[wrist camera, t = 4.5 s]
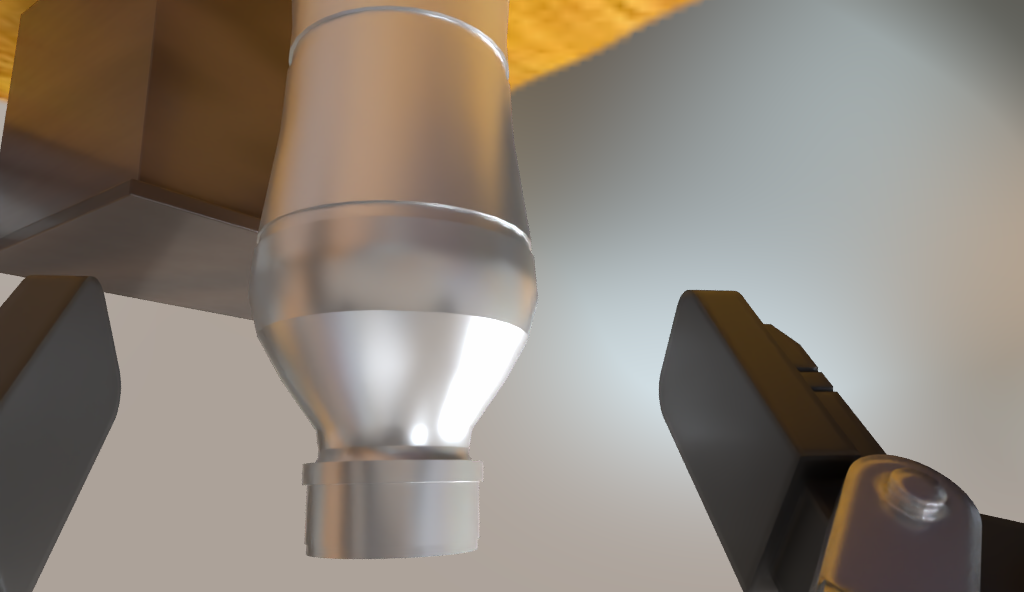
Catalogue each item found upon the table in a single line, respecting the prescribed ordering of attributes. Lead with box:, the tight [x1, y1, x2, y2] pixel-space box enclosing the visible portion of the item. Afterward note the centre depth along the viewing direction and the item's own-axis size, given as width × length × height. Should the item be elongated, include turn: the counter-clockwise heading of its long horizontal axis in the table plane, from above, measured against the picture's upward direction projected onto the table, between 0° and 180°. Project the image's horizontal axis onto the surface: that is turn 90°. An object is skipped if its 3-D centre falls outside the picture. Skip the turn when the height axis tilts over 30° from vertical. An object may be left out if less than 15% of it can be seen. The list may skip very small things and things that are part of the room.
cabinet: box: [0, 0, 293, 320], centre depth 30 cm, size 13×12×11 cm
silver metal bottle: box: [248, 0, 538, 559], centre depth 18 cm, size 6×7×20 cm
